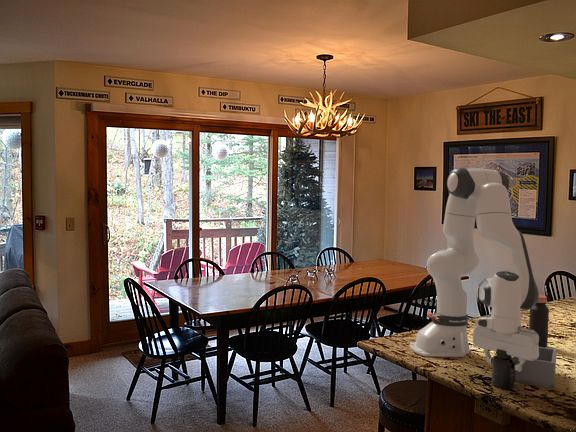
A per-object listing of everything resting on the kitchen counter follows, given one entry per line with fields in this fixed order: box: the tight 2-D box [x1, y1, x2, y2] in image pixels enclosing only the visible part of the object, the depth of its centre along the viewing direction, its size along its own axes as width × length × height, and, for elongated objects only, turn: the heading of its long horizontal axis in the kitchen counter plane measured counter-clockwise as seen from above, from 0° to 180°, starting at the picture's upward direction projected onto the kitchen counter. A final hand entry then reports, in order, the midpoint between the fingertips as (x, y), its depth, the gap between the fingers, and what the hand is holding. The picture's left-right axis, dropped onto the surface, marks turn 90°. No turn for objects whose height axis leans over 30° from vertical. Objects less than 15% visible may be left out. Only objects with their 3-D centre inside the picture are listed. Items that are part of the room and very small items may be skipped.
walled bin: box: [512, 347, 557, 389], centre depth 171 cm, size 16×12×8 cm
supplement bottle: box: [491, 349, 516, 390], centre depth 163 cm, size 7×7×12 cm
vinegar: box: [528, 294, 550, 348], centre depth 204 cm, size 7×7×20 cm
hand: (503, 366), depth 163 cm, fingers open, 8 cm apart
